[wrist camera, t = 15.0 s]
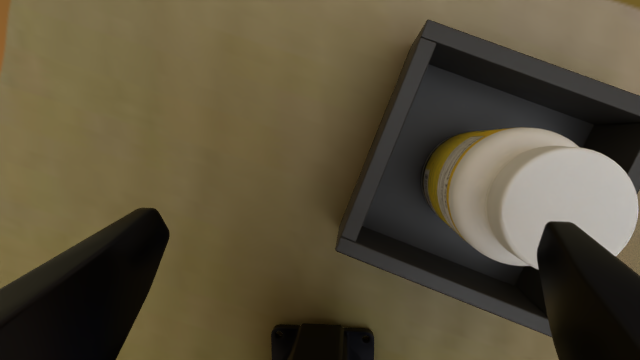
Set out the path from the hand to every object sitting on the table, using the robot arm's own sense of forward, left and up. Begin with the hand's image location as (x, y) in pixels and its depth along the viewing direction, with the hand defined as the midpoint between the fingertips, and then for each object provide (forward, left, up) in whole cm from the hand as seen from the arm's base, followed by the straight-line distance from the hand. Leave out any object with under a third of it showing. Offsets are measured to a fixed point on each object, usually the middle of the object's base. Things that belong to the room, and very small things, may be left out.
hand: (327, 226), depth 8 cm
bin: (0, -7, -13) cm, 15 cm away
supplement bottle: (0, -7, -13) cm, 15 cm away
